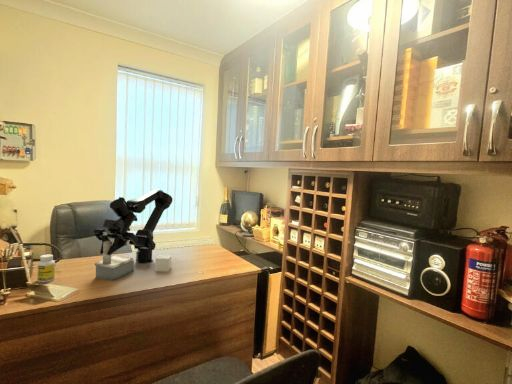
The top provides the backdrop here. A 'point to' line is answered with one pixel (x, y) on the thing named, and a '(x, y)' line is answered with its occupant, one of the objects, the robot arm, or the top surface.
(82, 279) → the top surface
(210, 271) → the top surface
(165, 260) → the white cube
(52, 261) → the supplement bottle
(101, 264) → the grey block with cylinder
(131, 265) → the storage box
